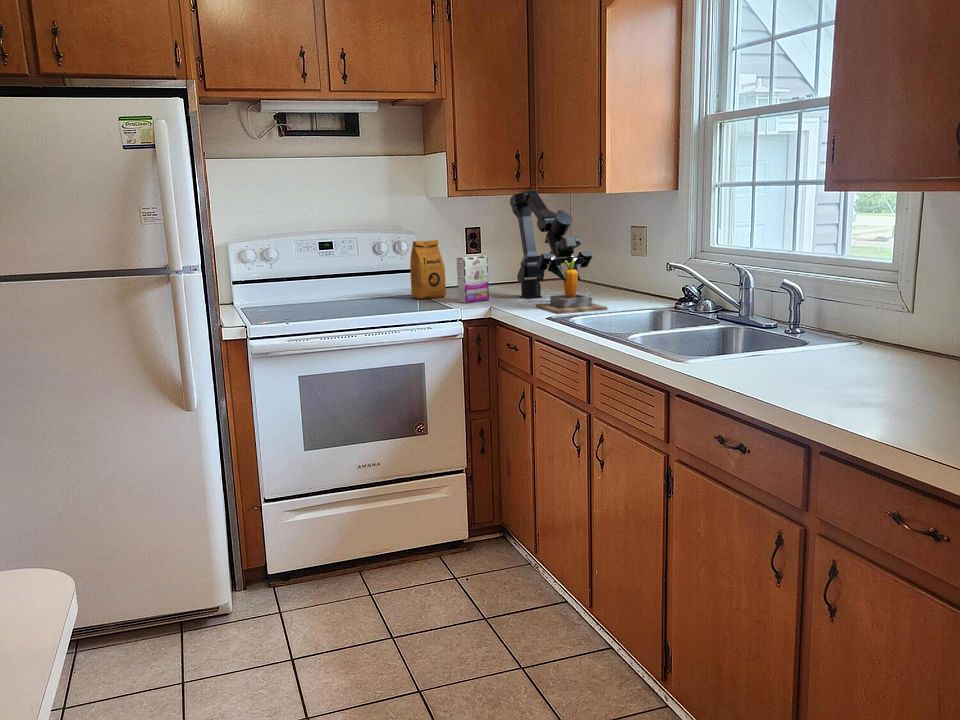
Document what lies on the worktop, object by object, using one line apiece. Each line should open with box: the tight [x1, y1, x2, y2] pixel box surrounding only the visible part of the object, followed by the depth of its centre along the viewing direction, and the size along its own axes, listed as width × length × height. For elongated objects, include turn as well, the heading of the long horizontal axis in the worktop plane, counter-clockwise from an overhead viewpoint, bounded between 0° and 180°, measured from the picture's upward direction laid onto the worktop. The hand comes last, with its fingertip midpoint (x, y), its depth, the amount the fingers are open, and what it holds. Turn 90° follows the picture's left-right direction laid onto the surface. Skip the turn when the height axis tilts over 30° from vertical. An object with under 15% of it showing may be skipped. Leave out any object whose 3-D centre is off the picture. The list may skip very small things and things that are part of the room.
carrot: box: [563, 259, 579, 299], centre depth 281 cm, size 5×5×15 cm
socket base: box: [535, 293, 608, 315], centre depth 282 cm, size 18×18×4 cm
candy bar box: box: [455, 255, 490, 304], centre depth 305 cm, size 11×5×16 cm, turn 130°
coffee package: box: [409, 239, 447, 300], centre depth 318 cm, size 10×12×22 cm
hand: (572, 279), depth 280 cm, fingers open, 5 cm apart
